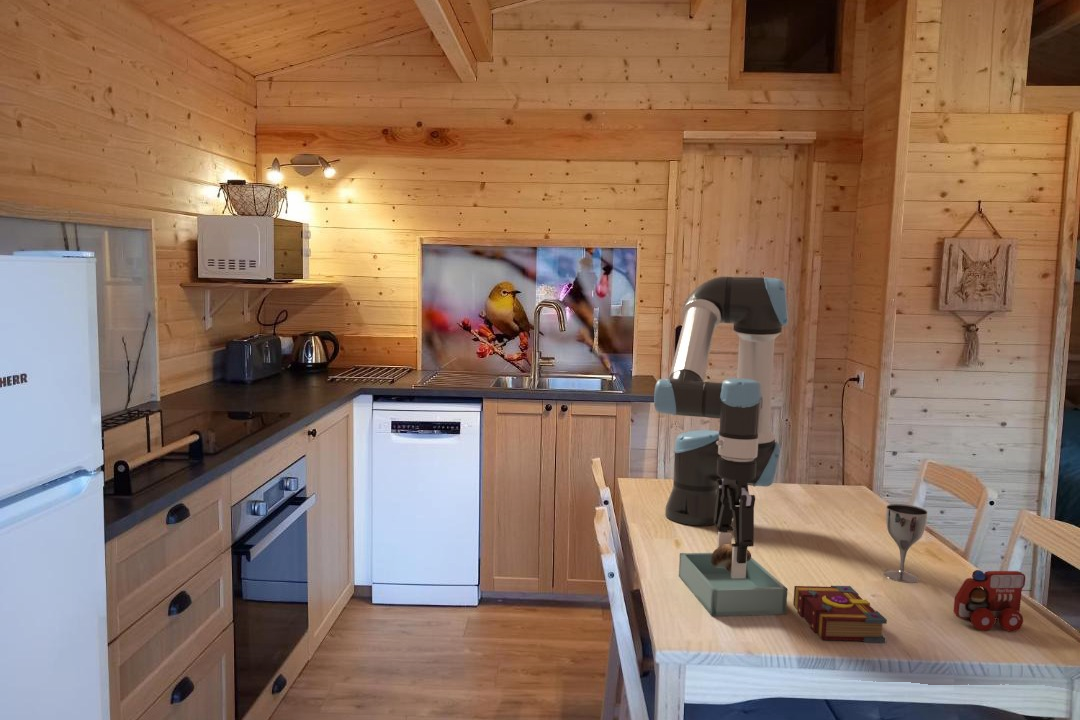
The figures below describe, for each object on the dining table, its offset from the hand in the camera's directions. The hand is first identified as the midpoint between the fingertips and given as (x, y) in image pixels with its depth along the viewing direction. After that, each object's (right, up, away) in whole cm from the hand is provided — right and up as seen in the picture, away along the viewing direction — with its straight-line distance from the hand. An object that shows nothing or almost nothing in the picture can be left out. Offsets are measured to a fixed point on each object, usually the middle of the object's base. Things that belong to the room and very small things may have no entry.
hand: (730, 570), depth 150 cm
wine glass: (+41, -5, +13) cm, 43 cm away
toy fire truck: (+46, -8, -9) cm, 47 cm away
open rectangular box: (0, -5, +1) cm, 5 cm away
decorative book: (+17, -7, -11) cm, 21 cm away
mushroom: (0, -1, 0) cm, 1 cm away
